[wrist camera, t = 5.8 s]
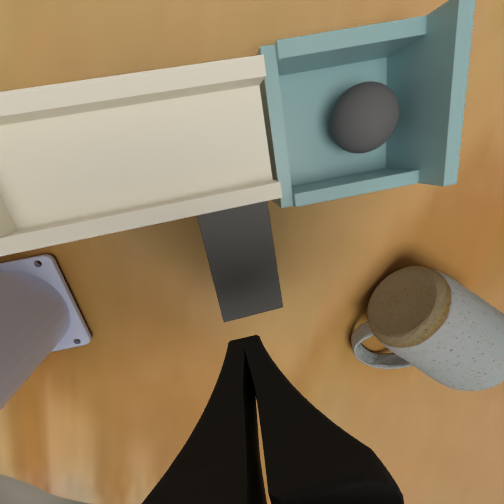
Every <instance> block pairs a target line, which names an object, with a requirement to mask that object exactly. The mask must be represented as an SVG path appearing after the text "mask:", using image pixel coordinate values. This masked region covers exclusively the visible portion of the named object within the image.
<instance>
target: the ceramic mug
mask: <svg viewBox="0 0 504 504" xmlns="http://www.w3.org/2000/svg"><path fill="white" fill-rule="evenodd" d="M367 318H368V322H365V323H363V324H361V325H360V326H359V327H358V328H357V329H355V331H354V332H353V333H352V336H351V343H352V349H353V353H354V355H355V356H356V358H357V359H358V360H359V361H361V362H362V363H364V364H366V365H368V366H371V367H375V368H381V369H396V368H405V367H409V366H413V365H414V366H415V367H416V368H418V369H419V370H421V371H422V372H424V373H425V374H426V375H428V376H429V377H431V378H432V379H434V380H435V381H437V382H439V383H441V384H443V385H445V386H447V387H450V388H453V389H456V390H463V391H477V390H484V389H488V388H491V387H494V386H496V385H498V384H500V383H501V382H503V381H504V314H503V313H502V312H500V311H499V310H497V309H496V308H494V307H493V306H491V305H490V304H489V303H487V302H486V301H484V300H483V299H481V298H480V297H479V296H477V295H476V294H474V293H473V292H471V291H469V290H468V289H467V288H465V287H464V286H463V285H461V284H460V283H459V282H457V281H456V280H454V279H453V278H451V277H450V276H448V275H446V274H444V273H442V272H439V271H437V270H435V269H432V268H429V267H424V266H410V267H405V268H402V269H400V270H397V271H395V272H393V273H391V274H390V275H388V276H387V277H386V278H385V279H384V280H382V281H381V282H380V283H379V285H378V286H377V287H376V289H375V290H374V292H373V293H372V295H371V298H370V300H369V304H368V309H367ZM373 335H375V336H376V337H377V339H378V340H379V341H380V342H381V343H382V344H383V345H384V346H385V347H387V348H388V349H389V350H390V351H392V352H393V353H374V352H370V351H368V350H367V349H365V348H364V347H363V346H362V344H361V342H363V341H364V340H365V339H367V338H370V337H371V336H373Z"/></svg>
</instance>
